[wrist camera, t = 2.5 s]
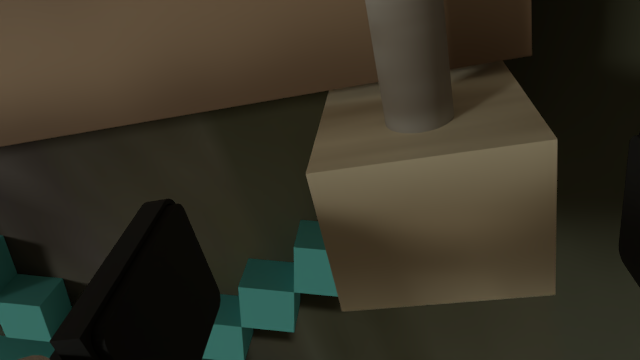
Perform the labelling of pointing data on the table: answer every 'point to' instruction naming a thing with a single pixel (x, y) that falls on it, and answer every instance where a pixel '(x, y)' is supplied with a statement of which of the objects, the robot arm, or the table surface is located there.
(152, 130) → the table surface
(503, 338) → the table surface
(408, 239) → the mallet
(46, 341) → the alien figure
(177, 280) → the robot arm
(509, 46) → the board
